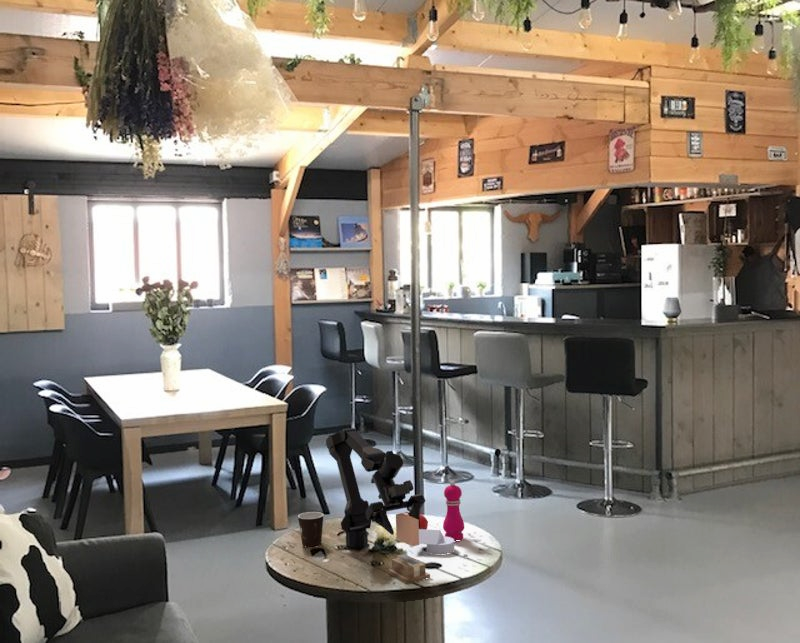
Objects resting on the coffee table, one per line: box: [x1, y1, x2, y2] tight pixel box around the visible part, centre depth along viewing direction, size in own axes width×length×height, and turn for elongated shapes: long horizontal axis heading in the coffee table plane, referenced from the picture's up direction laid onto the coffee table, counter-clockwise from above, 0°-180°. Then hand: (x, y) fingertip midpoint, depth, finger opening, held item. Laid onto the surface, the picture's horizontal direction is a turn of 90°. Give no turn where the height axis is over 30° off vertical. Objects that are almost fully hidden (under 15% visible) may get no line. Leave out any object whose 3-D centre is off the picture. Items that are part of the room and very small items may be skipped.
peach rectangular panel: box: [395, 512, 420, 547], centre depth 244 cm, size 9×2×8 cm, turn 31°
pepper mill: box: [442, 480, 465, 541], centre depth 278 cm, size 7×7×20 cm
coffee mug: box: [297, 511, 324, 548], centre depth 276 cm, size 12×9×10 cm
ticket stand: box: [387, 553, 431, 585], centre depth 244 cm, size 11×8×5 cm
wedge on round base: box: [419, 529, 455, 555], centre depth 268 cm, size 9×7×13 cm
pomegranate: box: [403, 511, 429, 530], centre depth 285 cm, size 10×10×9 cm
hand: (406, 531), depth 245 cm, fingers open, 9 cm apart
